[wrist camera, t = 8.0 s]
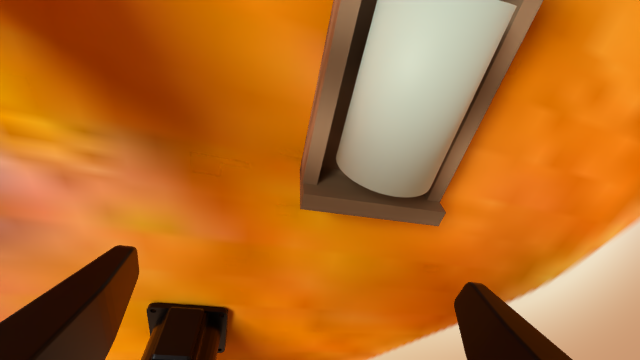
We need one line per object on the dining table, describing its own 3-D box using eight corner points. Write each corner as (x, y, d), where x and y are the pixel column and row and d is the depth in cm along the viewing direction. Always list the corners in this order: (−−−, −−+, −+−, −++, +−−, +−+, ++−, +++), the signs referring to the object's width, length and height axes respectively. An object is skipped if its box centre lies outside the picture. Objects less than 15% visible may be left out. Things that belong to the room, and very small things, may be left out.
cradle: (417, 186, 21) (439, 226, 18) (299, 169, 20) (299, 208, 17) (533, -71, 14) (606, -84, 11) (357, -124, 13) (378, -157, 9)
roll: (415, 156, 19) (443, 208, 15) (333, 141, 18) (337, 190, 14) (482, -4, 14) (550, 4, 10) (376, -31, 14) (401, -33, 10)
